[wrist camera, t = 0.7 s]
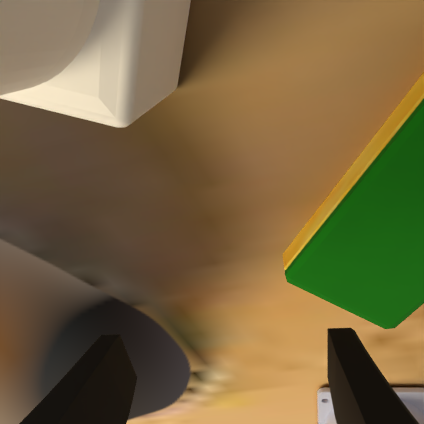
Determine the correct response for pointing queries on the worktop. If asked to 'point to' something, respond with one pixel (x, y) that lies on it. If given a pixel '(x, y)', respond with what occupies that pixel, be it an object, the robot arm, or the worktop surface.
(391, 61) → the worktop surface
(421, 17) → the worktop surface
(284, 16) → the worktop surface
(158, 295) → the worktop surface
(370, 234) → the dish sponge
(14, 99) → the medicine bottle
